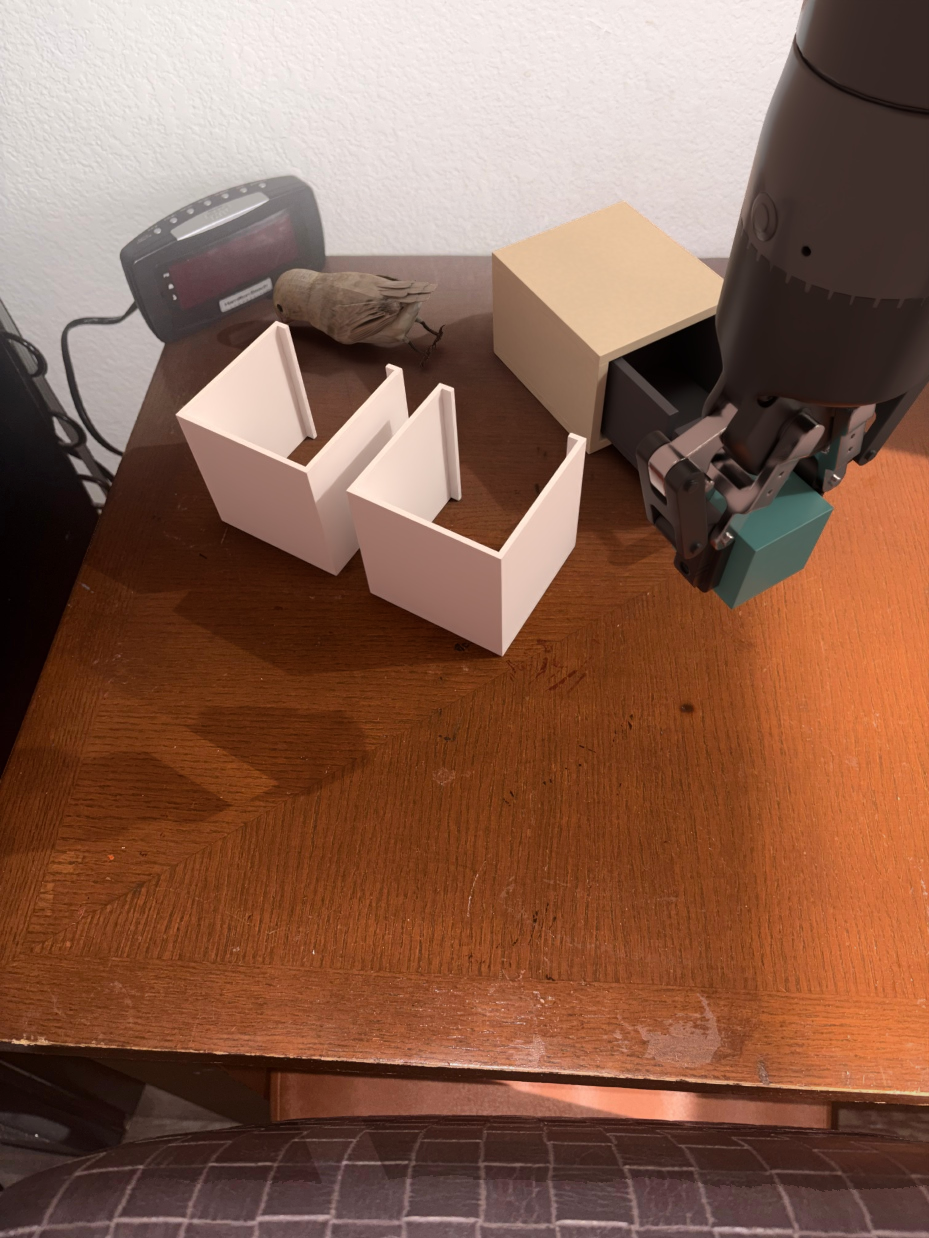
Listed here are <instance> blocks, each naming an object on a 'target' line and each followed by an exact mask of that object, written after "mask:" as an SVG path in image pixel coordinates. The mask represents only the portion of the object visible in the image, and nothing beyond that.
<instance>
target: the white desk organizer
mask: <svg viewBox="0 0 929 1238" xmlns="http://www.w3.org/2000/svg"><path fill="white" fill-rule="evenodd" d="M385 372H386V379H385V380H384V381H383V382H382V383H381V384H380V385H379V386H378V387H377V389H375V391H374V392H373V393H372V394H371V395H370V396H369V397H368V398H367V399H366V400H365V401H364V403H362V405H361V406H360V407H359V408H358V409H357V410H356V411H355V412H354V413H353V415H352V416H350V418H349V419H348V420H347V421H346V422H345V423H344V424H343V425H342V427H340V428H339V430H338V431H337V432H336V433H335V434H334V435H333V436H332V437H331V438H330V440H329V441H327V443H326V444H325V445H324V446H323V447H322V448H321V449H320V450H319V451H318V452H317V454H315V456H314V457H313V458H312V459H311V460H310V461H309V462H308V463H307V464H306V465H302V464H300V463H299V462H295V461H293V460H291V459H289V458H288V457H289V456H290V455H291V454H292V453H293V452H294V451H295V450H296V449H297V447H299V446H300V445H301V443H302V442H303V441H305V439H306V438H307V437H309V438H311V439H313V440H315V439H316V438H317V437H318V433H317V430H316V427H315V423H314V419H313V415H312V411H311V407H310V403H309V400H308V396H307V391H306V388H305V383H304V381H303V376H302V373H301V368H300V365H299V361H298V358H297V353H296V349H295V346H294V342H293V338H292V335H291V331H290V327H289V324H283V323H282V322H281V321H278V320H275V321H274V322H273V323H272V324H271V325H270V326H269V327H268V328H267V329H266V330H264V331H263V332H262V333H261V334H260V335H259V336H258V337H257V338H256V339H255V340H254V341H253V342H251V343H250V344H249V346H247V347H246V348H245V349H244V350H243V351H242V352H241V353H240V354H239V355H238V356H237V357H236V358H235V359H233V360H232V361H231V362H230V363H229V364H228V365H227V366H226V367H225V368H224V369H222V370H221V372H220V373H218V374H217V375H216V376H215V377H214V378H213V379H212V380H211V381H210V382H208V383H207V384H206V386H204V387H203V388H202V389H201V390H200V391H199V392H198V393H197V394H196V395H194V397H192V399H190V400H189V401H188V402H187V403H186V404H185V405H184V406H183V407H182V408H181V409H180V410H179V411H178V412H176V413H175V417H176V420H177V422H178V424H179V426H180V429H181V431H182V433H183V436H184V437H185V440H186V442H187V444H188V447H189V449H190V451H191V453H192V456H193V459H194V460H195V462H196V465H197V468H198V469H199V472H200V474H201V476H202V478H203V481H204V483H205V485H206V488H207V490H208V492H209V495H210V497H211V499H212V501H213V504H214V505H215V508H216V510H217V512H218V515H219V518H220V519H221V521H222V522H223V523H226V524H228V525H230V526H232V527H234V528H237V529H239V530H240V531H242V532H245V533H247V534H249V535H250V536H253V537H255V538H257V539H259V540H261V541H263V542H265V543H267V544H270V545H271V546H273V547H276V548H278V549H279V550H281V551H283V552H285V553H288V554H290V555H292V556H294V557H296V558H298V559H300V560H302V561H304V562H307V563H309V564H311V565H312V566H314V567H317V568H319V569H321V570H323V571H325V572H327V573H329V574H331V575H333V576H335V577H337V576H339V574H340V573H341V572H342V570H343V569H344V567H345V566H346V565H347V564H348V563H349V561H350V560H351V559H352V558H353V557H354V556H355V554H357V551H359V550H360V555H361V559H362V563H363V567H364V571H365V572H364V573H365V576H366V580H367V584H368V588H369V592H370V594H372V595H374V596H376V597H378V598H381V599H383V600H385V601H387V602H389V603H391V604H393V605H395V606H397V607H399V608H401V609H402V610H406V611H408V612H409V613H412V614H414V615H416V616H417V617H420V618H422V619H424V620H426V621H427V622H430V623H432V624H434V625H437V626H439V627H440V628H443V629H444V630H446V631H448V632H450V633H453V634H455V635H457V636H459V637H461V638H463V639H464V640H467V641H469V642H472V643H473V644H475V645H478V646H479V647H481V648H483V649H486V650H488V651H490V652H492V653H493V654H496V655H498V656H500V657H504V655H505V653H506V652H507V651H508V649H509V647H510V646H511V644H512V643H513V641H514V640H515V638H516V637H517V635H518V634H519V632H520V631H521V629H522V628H523V626H524V624H526V622H527V620H528V619H529V617H530V615H531V614H532V612H534V609H535V608H536V606H537V605H538V603H539V602H540V601H541V599H542V597H543V596H544V594H545V593H546V592H547V589H548V588H549V586H550V585H551V584H552V582H553V580H554V579H555V577H556V576H557V575H558V573H559V571H560V570H561V568H562V567H563V565H564V563H565V562H566V561H567V559H568V558H569V556H570V554H571V553H572V551H573V550H574V548H575V547H576V541H577V532H578V522H579V513H580V504H581V495H582V484H583V477H584V476H583V475H584V467H585V457H586V451H585V449H586V438H584V437H581V436H578V435H576V434H573V433H570V434H569V433H568V436H567V442H566V455H565V458H564V459H563V461H562V462H561V464H560V465H559V467H558V468H557V469H556V471H555V472H554V474H553V475H552V477H551V478H550V479H549V481H548V482H547V484H546V485H545V486H544V488H543V489H542V490H541V492H540V494H539V495H538V496H537V498H536V499H535V500H534V502H533V503H532V504H531V506H530V507H529V509H528V510H527V512H526V513H525V515H524V516H523V517H522V519H521V520H520V522H519V523H518V524H517V525H516V527H515V529H513V530H512V533H511V534H510V535H509V537H508V539H507V540H505V543H504V544H503V545H502V547H501V548H500V550H499V551H497V550H495V549H492V548H490V547H488V546H486V545H484V544H481V543H479V542H477V541H475V540H472V539H470V538H468V537H466V536H464V535H461V534H458V533H457V532H454V531H452V530H449V529H447V528H445V527H443V526H441V525H438V524H436V523H434V522H433V521H434V520H435V518H436V517H438V514H440V512H441V511H442V510H443V508H444V507H445V506H446V505H447V503H448V502H449V500H450V499H451V498H452V499H453V500H456V501H460V500H461V499H462V486H461V484H462V483H461V469H460V455H459V441H458V440H459V439H458V426H457V412H456V397H455V388H454V387H452V386H450V385H447V384H443V383H442V382H438V384H437V386H436V387H435V388H434V389H433V390H432V391H431V392H430V393H429V394H428V396H427V397H426V398H425V399H424V400H423V401H422V403H421V404H420V405H419V406H418V407H417V408H416V410H414V412H413V413H412V414H411V415H410V416H409V409H408V403H407V395H406V388H405V380H404V371H403V368H401V367H399V366H397V365H393V364H391V363H387V364H386V366H385Z"/></svg>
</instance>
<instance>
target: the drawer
mask: <svg viewBox="0 0 929 1238" xmlns="http://www.w3.org/2000/svg"><path fill="white" fill-rule="evenodd" d="M715 317H716V314H715V315H713V316H710V317H708V318H706V319H704V320H701V321H699V322H697V323H695V324H692V325H690V326H688V327H686V328H683V329H681V330H679V331H677V332H674V333H672V334H670V335H668V336H665V337H663V338H661V339H659V340H656V341H654V342H652V343H650V344H647V345H645V346H643V347H641V348H638V349H636V350H634V351H632V352H629V353H627V354H625V355H623V356H620V357H618V358H616V359H614V360H611V361H609V363H608V372H607V380H606V388H605V396H604V404H603V412H602V421H601V429H600V432H601V433H602V434H603V435H604V436H605V437H606V438H607V439H608V440H609V441H610V442H611V443H612V444H611V445H613V447H615V448H616V449H617V451H618V452H619V453H620V454H621V455H622V456H623V457H625V459H626V460H627V461H628V462H629V463H630V464H631V465H632V466H633V467H634V468H635V469H636V471H638V472H639V470H638V464H637V458H636V448H637V446H638V444H639V443H640V441H641V440H642V439H643V438H644V437H645V436H646V435H648V434H649V433H651V432H653V431H660V432H662V433H663V434H664V435H665V436H666V437H667V438H668V439H669V440H670V441H671V442H672V441H673V440H675V439H676V438H678V437H679V436H680V435H682V434H683V433H685V432H686V431H687V430H689V429H690V428H692V427H693V426H694V425H696V424H697V423H699V422H700V421H701V420H702V409H703V406H704V403H705V401H706V399H707V398H708V396H709V395H710V393H711V392H712V390H713V389H714V387H715V385H716V384H717V382H718V380H719V378H720V376H721V373H722V370H723V365H722V357H721V351H720V346H719V342H718V337H717V332H716V324H715Z"/></svg>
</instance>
